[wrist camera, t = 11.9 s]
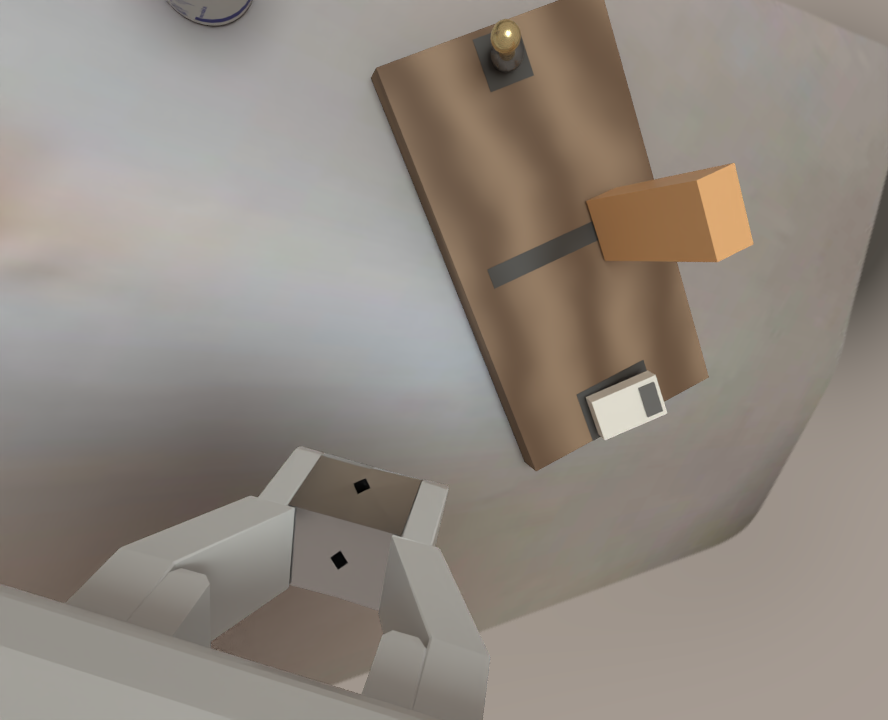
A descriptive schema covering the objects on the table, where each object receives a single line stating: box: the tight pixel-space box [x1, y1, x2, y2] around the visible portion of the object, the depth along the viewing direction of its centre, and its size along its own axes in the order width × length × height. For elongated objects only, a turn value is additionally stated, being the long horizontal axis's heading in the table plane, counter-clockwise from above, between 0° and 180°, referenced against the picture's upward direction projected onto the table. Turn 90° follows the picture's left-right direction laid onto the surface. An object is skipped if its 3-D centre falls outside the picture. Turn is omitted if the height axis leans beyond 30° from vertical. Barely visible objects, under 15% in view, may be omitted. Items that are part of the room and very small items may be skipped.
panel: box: [371, 0, 709, 471], centre depth 39 cm, size 16×29×2 cm, turn 23°
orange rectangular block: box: [586, 163, 753, 262], centre depth 34 cm, size 2×4×11 cm, turn 23°
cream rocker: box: [586, 371, 667, 440], centre depth 41 cm, size 5×3×1 cm, turn 113°
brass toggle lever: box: [491, 19, 524, 72], centre depth 31 cm, size 2×2×6 cm
